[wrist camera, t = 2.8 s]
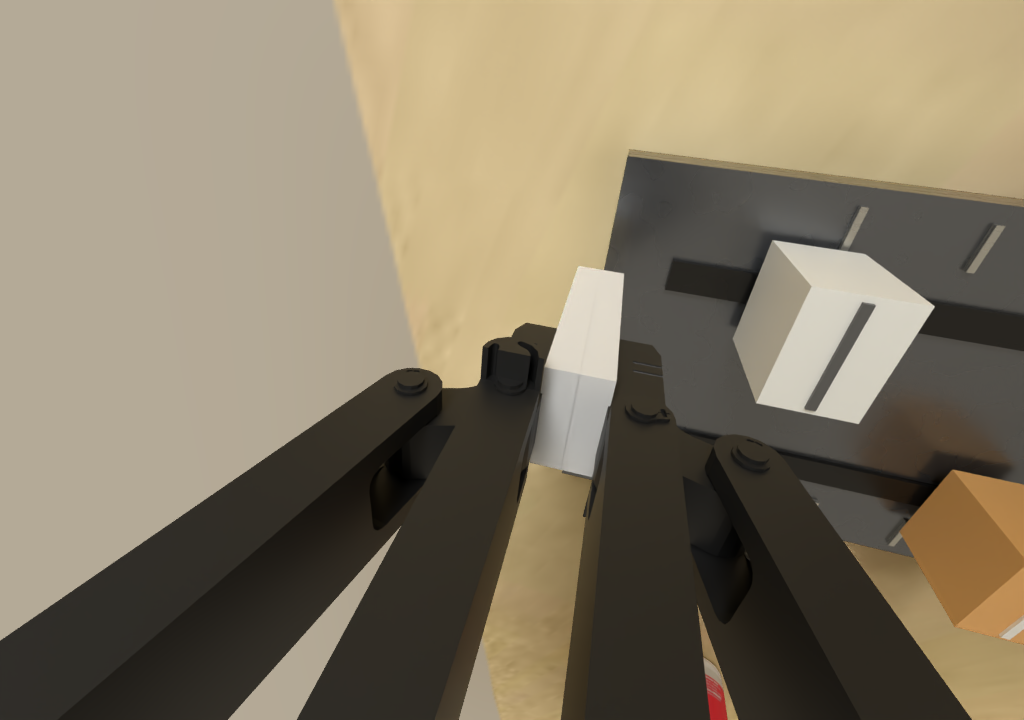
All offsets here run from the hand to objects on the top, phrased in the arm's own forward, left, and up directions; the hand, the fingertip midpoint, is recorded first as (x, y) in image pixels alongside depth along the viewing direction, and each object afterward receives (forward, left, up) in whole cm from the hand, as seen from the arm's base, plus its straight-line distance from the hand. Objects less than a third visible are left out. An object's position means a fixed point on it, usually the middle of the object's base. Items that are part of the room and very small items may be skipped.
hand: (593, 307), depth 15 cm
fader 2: (+8, +17, -3) cm, 19 cm away
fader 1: (0, +7, -3) cm, 8 cm away
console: (+4, +12, -6) cm, 14 cm away
